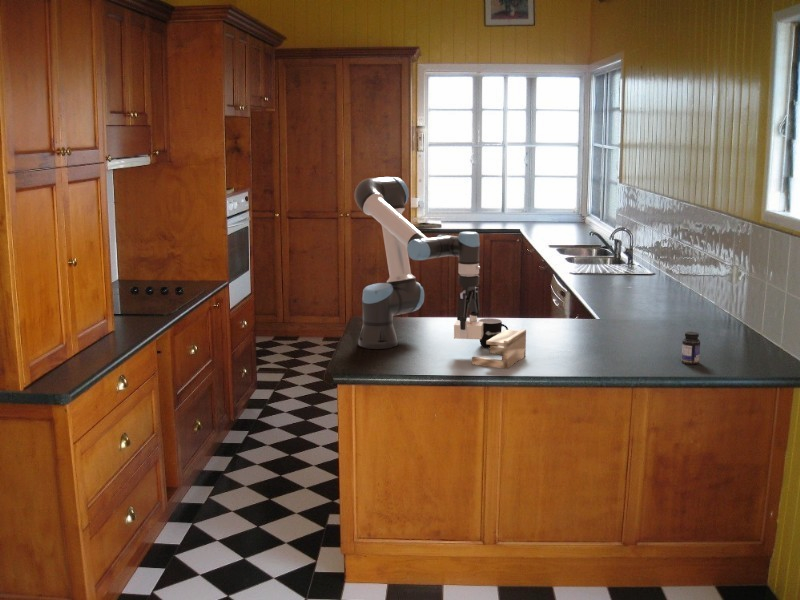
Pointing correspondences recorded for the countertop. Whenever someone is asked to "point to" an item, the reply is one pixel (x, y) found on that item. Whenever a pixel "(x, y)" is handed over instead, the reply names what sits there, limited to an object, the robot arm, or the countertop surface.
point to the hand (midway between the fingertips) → (468, 335)
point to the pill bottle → (691, 348)
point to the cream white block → (470, 330)
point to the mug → (490, 330)
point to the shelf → (505, 349)
